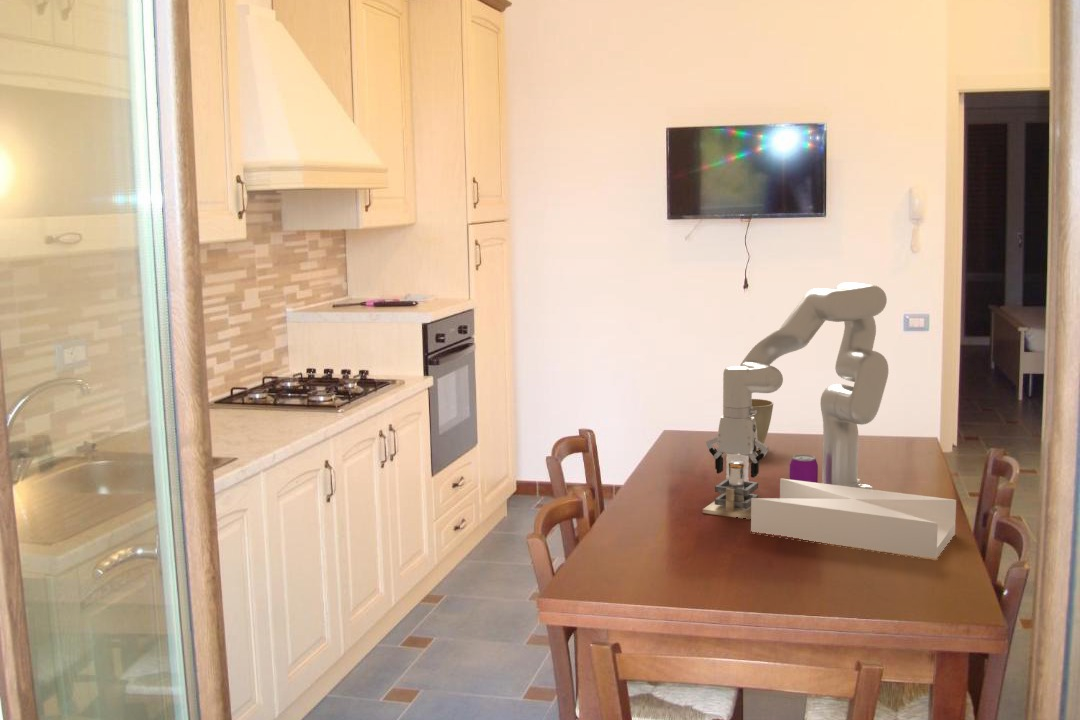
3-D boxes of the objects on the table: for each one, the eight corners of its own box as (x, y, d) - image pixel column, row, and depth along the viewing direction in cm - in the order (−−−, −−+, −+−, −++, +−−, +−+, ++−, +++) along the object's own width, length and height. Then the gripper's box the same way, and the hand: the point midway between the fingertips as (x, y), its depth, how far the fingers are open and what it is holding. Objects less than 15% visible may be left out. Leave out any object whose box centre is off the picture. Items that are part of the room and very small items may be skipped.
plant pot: (779, 447, 365) (779, 400, 362) (763, 456, 352) (763, 408, 350) (737, 442, 373) (737, 396, 370) (720, 451, 360) (720, 404, 358)
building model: (750, 534, 275) (751, 498, 273) (779, 511, 293) (780, 477, 292) (936, 562, 251) (937, 523, 250) (954, 536, 270) (956, 499, 269)
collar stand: (769, 506, 297) (770, 481, 296) (752, 519, 285) (752, 494, 284) (721, 499, 304) (721, 475, 303) (702, 512, 292) (702, 487, 291)
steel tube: (746, 504, 295) (746, 461, 293) (741, 508, 292) (741, 465, 290) (731, 502, 297) (731, 460, 295) (726, 506, 294) (726, 463, 292)
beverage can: (785, 500, 302) (786, 458, 300) (793, 493, 309) (793, 452, 307) (813, 504, 298) (814, 461, 297) (820, 496, 305) (821, 455, 303)
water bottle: (746, 487, 316) (747, 403, 312) (724, 485, 318) (725, 402, 314) (751, 479, 324) (752, 397, 321) (729, 478, 326) (729, 396, 323)
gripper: (773, 412, 289) (772, 474, 292) (711, 407, 298) (711, 467, 301) (763, 417, 283) (763, 481, 286) (701, 412, 292) (701, 474, 294)
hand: (736, 474), depth 293 cm, fingers open, 9 cm apart
